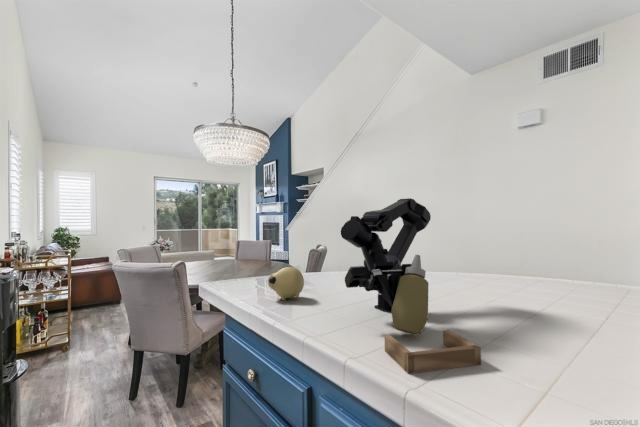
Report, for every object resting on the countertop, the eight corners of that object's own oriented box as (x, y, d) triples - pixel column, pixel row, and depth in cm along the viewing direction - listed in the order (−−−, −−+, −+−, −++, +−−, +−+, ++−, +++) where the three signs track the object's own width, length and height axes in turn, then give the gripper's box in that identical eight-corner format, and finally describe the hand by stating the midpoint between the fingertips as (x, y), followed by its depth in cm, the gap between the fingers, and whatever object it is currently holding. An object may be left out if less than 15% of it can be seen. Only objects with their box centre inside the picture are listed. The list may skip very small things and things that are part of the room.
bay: (384, 350, 60) (384, 335, 60) (448, 344, 63) (448, 329, 63) (408, 373, 51) (407, 355, 51) (480, 364, 54) (480, 347, 54)
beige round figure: (272, 294, 106) (272, 264, 107) (305, 295, 105) (305, 264, 106) (264, 302, 97) (264, 268, 97) (301, 302, 96) (301, 269, 96)
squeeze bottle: (430, 336, 62) (439, 254, 69) (392, 325, 63) (404, 246, 70) (420, 337, 70) (429, 263, 77) (385, 327, 71) (397, 255, 78)
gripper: (393, 267, 89) (414, 318, 79) (333, 270, 84) (347, 325, 74) (409, 244, 81) (434, 297, 71) (344, 246, 76) (361, 303, 66)
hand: (394, 306), depth 71 cm, fingers closed
